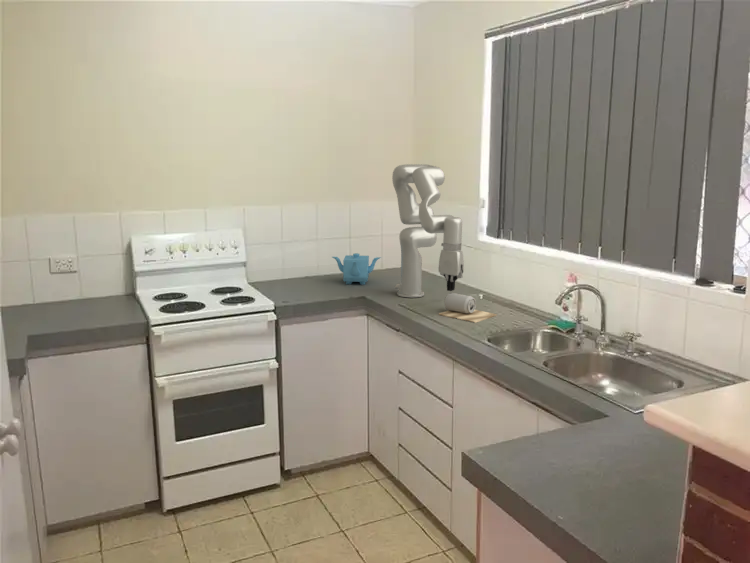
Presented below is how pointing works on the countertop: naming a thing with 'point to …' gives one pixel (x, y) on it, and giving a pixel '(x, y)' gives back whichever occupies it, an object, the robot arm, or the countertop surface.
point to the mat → (469, 315)
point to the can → (460, 303)
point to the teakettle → (356, 268)
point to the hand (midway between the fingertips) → (450, 290)
